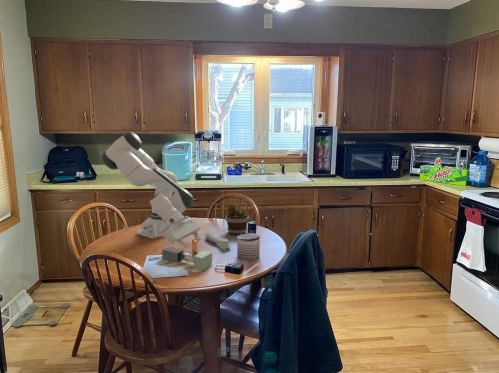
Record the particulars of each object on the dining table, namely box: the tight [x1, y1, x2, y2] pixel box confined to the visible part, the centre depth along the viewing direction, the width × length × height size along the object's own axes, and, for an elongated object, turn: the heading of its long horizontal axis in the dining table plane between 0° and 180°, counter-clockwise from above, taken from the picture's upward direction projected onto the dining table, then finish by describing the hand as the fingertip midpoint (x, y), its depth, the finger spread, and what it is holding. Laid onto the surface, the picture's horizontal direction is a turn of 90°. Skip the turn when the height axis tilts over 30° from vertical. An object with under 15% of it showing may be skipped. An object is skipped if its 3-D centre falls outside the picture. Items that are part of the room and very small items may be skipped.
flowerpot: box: [224, 201, 250, 236], centre depth 229 cm, size 14×15×20 cm
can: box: [236, 232, 261, 261], centre depth 190 cm, size 11×11×12 cm
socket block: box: [193, 250, 213, 272], centre depth 176 cm, size 5×8×6 cm, turn 153°
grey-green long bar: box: [204, 232, 232, 252], centre depth 208 cm, size 5×7×25 cm
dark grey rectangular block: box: [161, 246, 185, 263], centre depth 184 cm, size 9×5×5 cm, turn 63°
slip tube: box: [178, 239, 198, 262], centre depth 179 cm, size 16×3×11 cm, turn 63°
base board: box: [155, 259, 216, 274], centre depth 182 cm, size 25×14×1 cm, turn 63°
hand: (193, 243), depth 177 cm, fingers open, 8 cm apart
